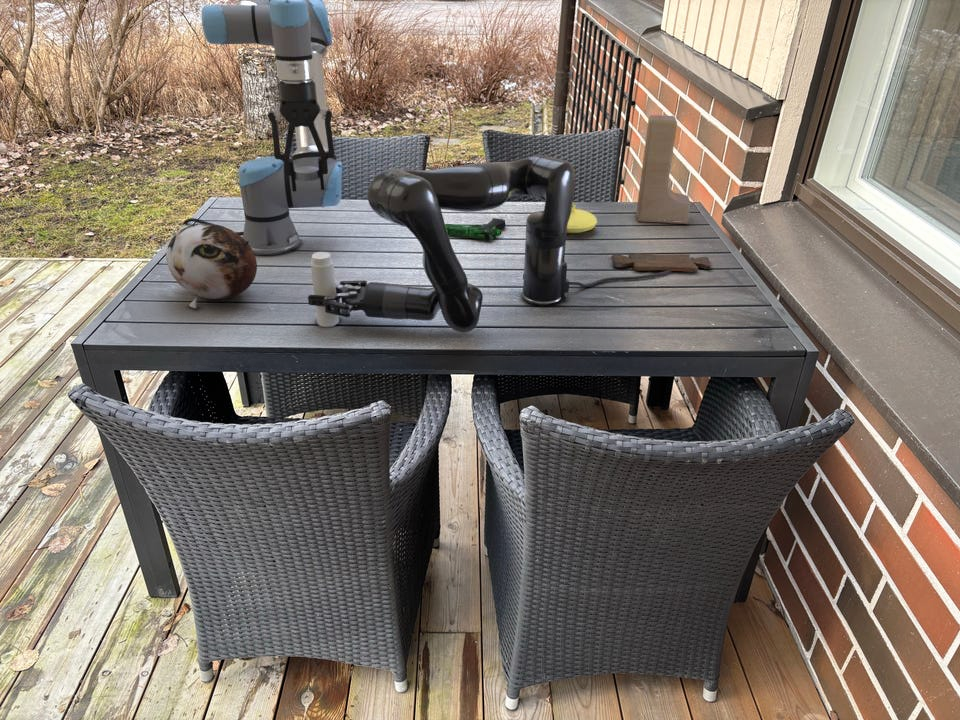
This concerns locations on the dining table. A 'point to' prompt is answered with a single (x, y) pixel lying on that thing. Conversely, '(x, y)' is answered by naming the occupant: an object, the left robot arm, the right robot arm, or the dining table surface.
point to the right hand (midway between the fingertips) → (313, 294)
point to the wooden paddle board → (661, 262)
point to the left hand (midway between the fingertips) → (308, 188)
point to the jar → (324, 286)
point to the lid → (306, 173)
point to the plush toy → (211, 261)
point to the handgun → (478, 230)
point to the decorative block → (660, 176)
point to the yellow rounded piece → (580, 221)
